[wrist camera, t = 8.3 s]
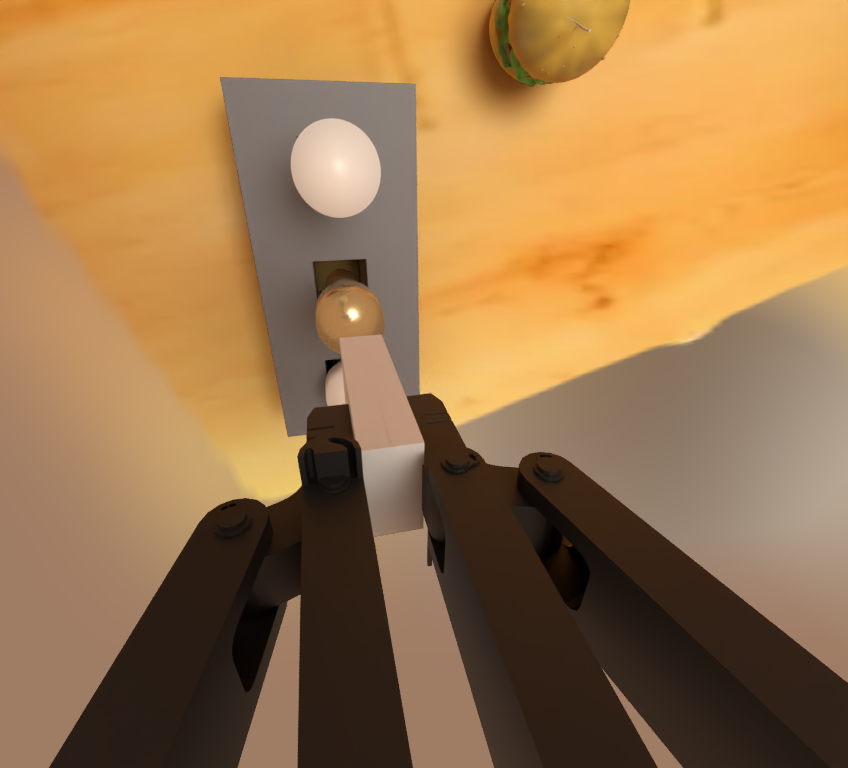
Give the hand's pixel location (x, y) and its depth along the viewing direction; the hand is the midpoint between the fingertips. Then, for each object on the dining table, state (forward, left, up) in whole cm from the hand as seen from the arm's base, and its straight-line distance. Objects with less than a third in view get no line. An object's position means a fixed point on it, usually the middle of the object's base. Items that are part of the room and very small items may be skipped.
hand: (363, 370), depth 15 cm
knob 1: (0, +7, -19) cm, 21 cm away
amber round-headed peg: (0, -1, -19) cm, 20 cm away
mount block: (0, -1, -26) cm, 26 cm away
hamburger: (+16, +16, -26) cm, 34 cm away
